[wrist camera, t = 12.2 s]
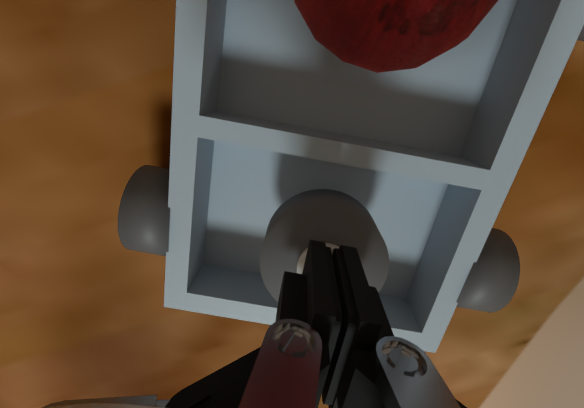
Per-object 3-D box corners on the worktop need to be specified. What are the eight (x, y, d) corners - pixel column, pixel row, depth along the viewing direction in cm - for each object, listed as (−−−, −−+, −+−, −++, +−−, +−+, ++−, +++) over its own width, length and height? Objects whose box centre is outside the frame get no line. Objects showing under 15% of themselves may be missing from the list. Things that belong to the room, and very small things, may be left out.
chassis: (172, -235, 11) (104, -405, 7) (632, -133, 11) (794, -242, 8) (158, 258, 18) (119, 303, 14) (441, 307, 18) (477, 364, 15)
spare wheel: (275, 179, 13) (269, 199, 10) (391, 200, 13) (409, 225, 10) (258, 278, 14) (250, 314, 12) (360, 296, 14) (371, 335, 12)
